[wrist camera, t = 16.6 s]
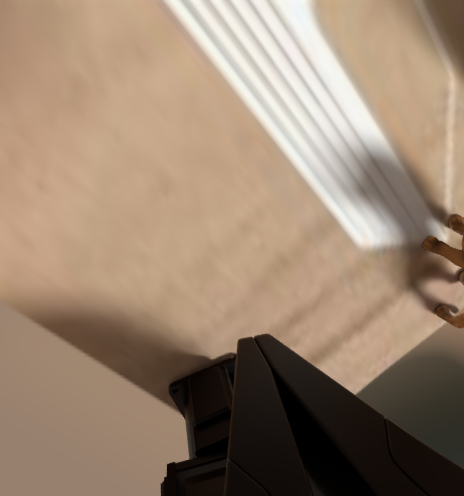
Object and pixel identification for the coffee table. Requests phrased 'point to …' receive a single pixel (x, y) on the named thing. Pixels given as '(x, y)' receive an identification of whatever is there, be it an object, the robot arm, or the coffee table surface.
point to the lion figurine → (455, 256)
